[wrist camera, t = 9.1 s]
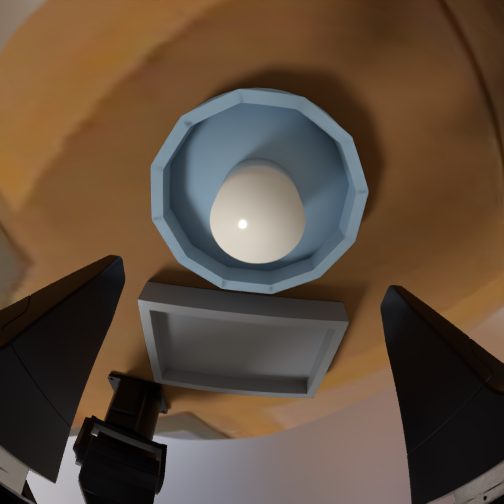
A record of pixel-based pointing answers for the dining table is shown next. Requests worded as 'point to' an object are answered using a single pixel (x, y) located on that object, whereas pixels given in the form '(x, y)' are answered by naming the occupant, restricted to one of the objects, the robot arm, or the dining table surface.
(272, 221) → the white marshmallow
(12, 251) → the dining table surface
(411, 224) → the dining table surface
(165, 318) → the parts tray
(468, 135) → the dining table surface
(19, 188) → the dining table surface
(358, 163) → the blue ring
